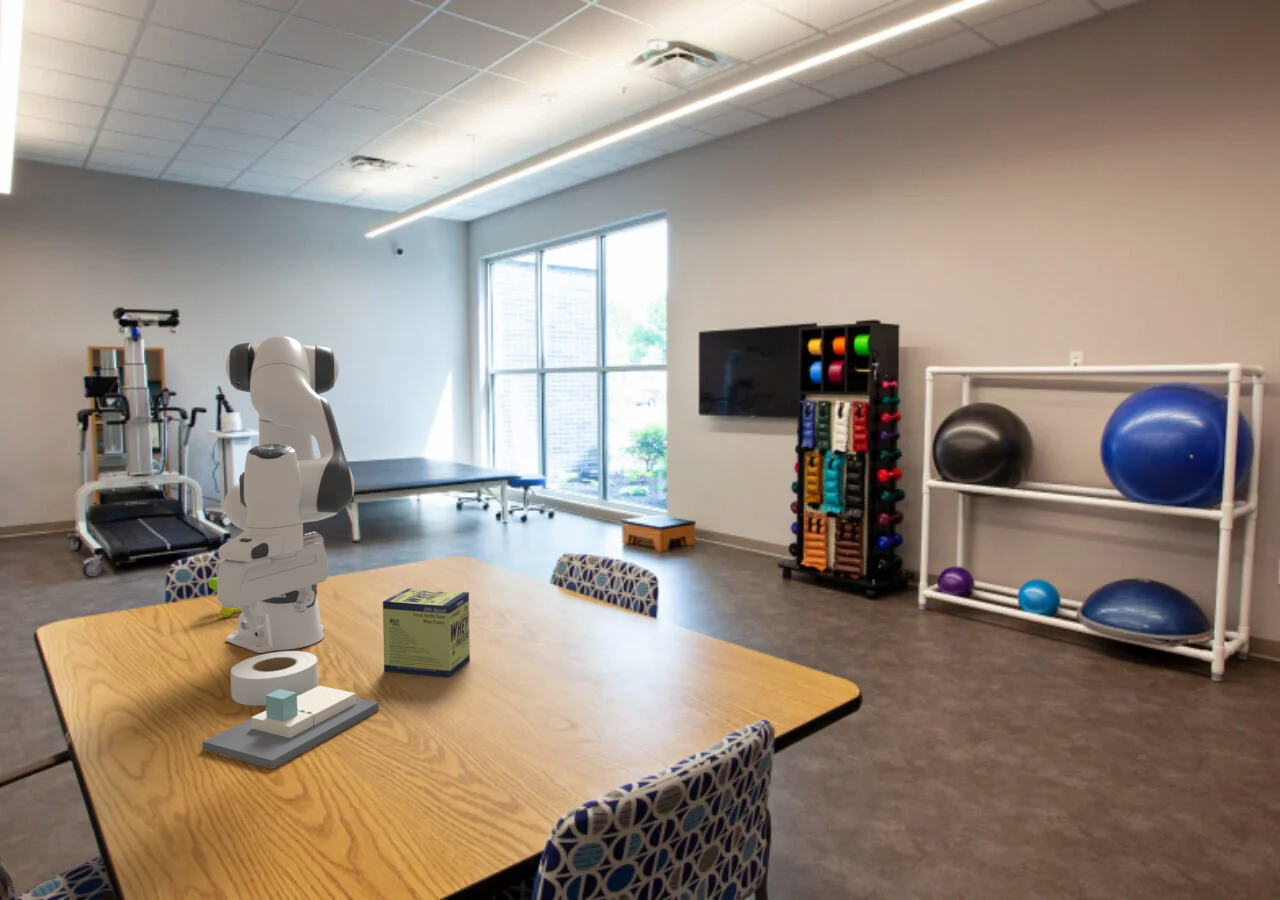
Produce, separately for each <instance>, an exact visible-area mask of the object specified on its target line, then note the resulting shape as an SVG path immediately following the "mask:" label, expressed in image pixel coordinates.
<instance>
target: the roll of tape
mask: <svg viewBox="0 0 1280 900" xmlns="http://www.w3.org/2000/svg"><path fill="white" fill-rule="evenodd" d="M230 668H231V669H230V693H231V698H232V700H233V701H234V702H235V703H237V704H240V705H243V706H252V707H253V706H254V707H259V706H266V695H268V694H270V693H272V692H274V691H276V690H279V689H282V690H287V691H291V692H296V693H297V696H298V695H301V694H303V693H305V692H307V691H309V690H311V689H313V688H315V687H318V686H319V675H318V674H319V672H318V658H317V656H316V655H315V654H313V653H311V652H307V651H300V650H299V651H298V650H281V651H275V652H274V651H272V652H269V653H268V652H266V653H263V654H259V655H255V656H252V657H248V658H247V659H244V660H242V661H239V662H238V663H236V664H235V665H233V666H231V667H230Z"/></svg>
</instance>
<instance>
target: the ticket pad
mask: <svg viewBox="0 0 1280 900" xmlns="http://www.w3.org/2000/svg"><path fill="white" fill-rule="evenodd" d="M356 698H357V693H356V692H352V691H351V692H350V691H347V690H342V689H337V688H332V687H328V686H323V685H318V686H317V687H315V688H313V689H311V690H309V691H307V692H305V693H303V694H301V695H298V696H297V711H298V712H302V713H307V714H311V715H313V725H314V726H315V725H317V724H318V723H320V722H322V721H324V720H326V719H328V718H330V717H332V716H334V715H335V714H337V713H339V712H341V711H343V710H345V709H347V708H349V707H351V706H353V705H354V704H356Z"/></svg>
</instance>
